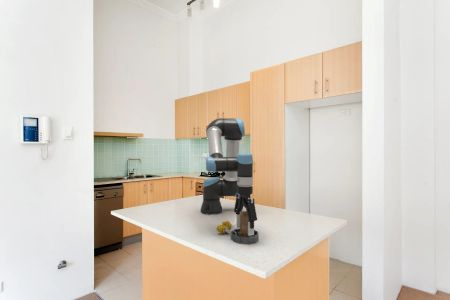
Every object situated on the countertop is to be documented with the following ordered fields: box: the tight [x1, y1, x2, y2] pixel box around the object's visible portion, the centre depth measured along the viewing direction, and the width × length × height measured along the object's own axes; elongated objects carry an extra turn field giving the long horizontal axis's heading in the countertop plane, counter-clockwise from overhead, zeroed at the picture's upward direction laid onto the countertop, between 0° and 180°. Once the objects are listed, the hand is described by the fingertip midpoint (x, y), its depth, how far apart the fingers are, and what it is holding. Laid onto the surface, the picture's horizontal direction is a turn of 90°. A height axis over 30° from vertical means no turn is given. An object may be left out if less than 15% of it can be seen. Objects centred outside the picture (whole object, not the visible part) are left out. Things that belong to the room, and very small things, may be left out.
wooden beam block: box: [239, 210, 250, 237], centre depth 117 cm, size 4×4×12 cm
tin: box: [230, 228, 260, 245], centre depth 117 cm, size 13×13×3 cm
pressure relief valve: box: [216, 220, 237, 236], centre depth 124 cm, size 6×12×10 cm
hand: (244, 231), depth 117 cm, fingers open, 11 cm apart
